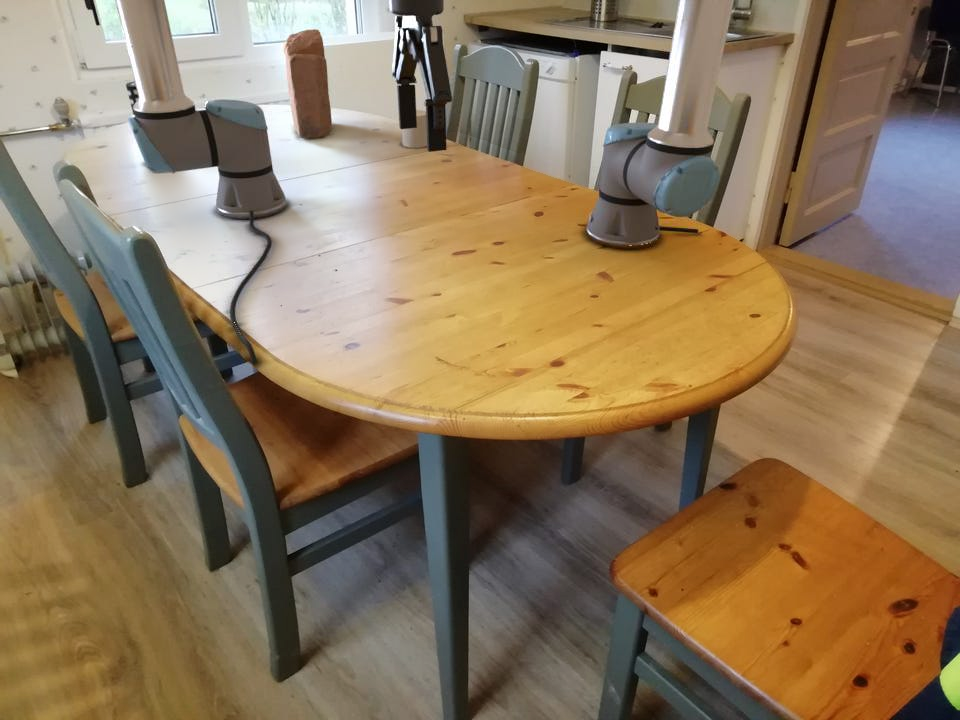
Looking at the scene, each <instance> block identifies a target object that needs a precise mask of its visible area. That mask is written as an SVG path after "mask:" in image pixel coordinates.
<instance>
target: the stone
mask: <svg viewBox="0 0 960 720" xmlns="http://www.w3.org/2000/svg"><path fill="white" fill-rule="evenodd" d="M321 34H322V33H321V32H320V30H319V29H315V28H314V29H313V28H312V29H305V30H300V31H299V32H297V33H292V34H289V35H288V37H287V39H286V40H285V42H284V43H283V49H282V50H283V53H284V56H285V70H286V71H285V72H286V82H287V90H288V96H289V100H290V111H291V116H292V121H293V124H294V127H295V130H296V133H297V135H298V136H299V138H300V139H313V138H321V137H324V136H327V135H329V134H331V132H332V123H333V119H332V109H331V102H330V95H329V78H328V77H329V76H328V65H327V64H328V63H327V59H326V56H325V47H324V46H325V45H324V40H323V36H322V35H321Z"/></svg>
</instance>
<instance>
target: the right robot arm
mask: <svg viewBox="0 0 960 720" xmlns="http://www.w3.org/2000/svg"><path fill="white" fill-rule="evenodd" d="M444 1H445V0H389V11H390V12H391V13H392V14H393V15H395V17H394V24H395V25H394V29H395V31H394V44H393V54H392V68H391V76H392V78H393V79H395V83H396V89H397V105H398V106H397V107H398V123H399V125H398V126H399V129H400V130H402V129H409V128H417V117H416V110H417V99H416V97H417V96H416V85H415V84H417V83H418V81H417V77H416V76H415V74H416V69H417V66H418V68H419V71H420V75H421V79H422V83H423V86H424V91H425V94H426V98H425V100H424V102H423V106H424V107H425V111H426V126H427V146H426V149H427V152H428V153H431V152H432V153H433V152H441V151H447V111H446V110H447V109H446V108H447V107H446V105H448V103H452V101H453V95H452V89H451V83H450V78H449V71H448V66H447V59H446V54H445V48H444V47H445V46H444V37H443V36H444V35H443V27H442V25H434V23H433V17H434V16H438V15H441V14H443V12H444V9H445V8H444V6H445V3H444ZM734 1H735V0H678V3H677V9H676V16H675V22H674V27H673V33H672V39H671V45H670V49H669V57H668V63H667V69H666V75H665V80H664V86H663V91H662V93H663V94H662V99H661V104H660V110H659V116H658V122H657V123H655V122H624V123H616V124H613V125H611V126H610V127H608V128H607V130H606V132H605V135H604V141H603V144H602V147H603V151H602V161H601V170H600V172H601V173H600V179H599V189H598V190H599V191H598V198H597V199H596V200H597V201H596V203H595V205H594V207H593V209H592V211H591V212H590V213H589V215H588V218H589V219H588V221H587V224H586V231H585V234H586V236H587V238H588V239H590V240H591V241H592V242H594V243H596V244H598V245H601V246H605V247H608V248H614V249H621V250H638V249H645V248H648V247H651V246H654V245H655V244H656V243H658V241H659V240H660V235H661V234H660V233H661V232H676V233H687V234H698V233H699V229H698V228H690V227H689V228H688V227H676V226H675V227H674V226H661V225H660V222H659V216H658V212H660V213H663V214H667V215H669V216H670V217H674V218H684V217H688V216H691V215H694V214H696V213H697V212H698V211H700V210H701V209H702V208H703V207H704V206H705V205H707V204H708V203H709V202H710V201H711V199H712V198H713V196H714V194H715V193H716V191H717V189H718V186H719V184H720V178H721V176H720V175H721V174H720V169H719V167H718V166H717V163H716V161H715V160H713V158H711V156H712V152H713V147H714V141H715V140H714V138H713V137H712V135H711V134H710V132H709V130H708V128H709V127H708V126H709V123H710V119H711V118H710V117H711V113H712V109H713V104H714V99H715V94H716V89H717V83H718V79H719V76H720V75H719V74H720V70H721V65H722V61H723V55H724V50H725V45H726V42H727V41H726V40H727V37H728V32H729V27H730V21H731V17H732V11H733V8H734ZM656 239H657V240H656ZM650 242H651V243H650ZM646 243H648V244H646ZM641 244H643V245H641ZM629 245H632V246H629Z"/></svg>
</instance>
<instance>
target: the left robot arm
mask: <svg viewBox="0 0 960 720" xmlns="http://www.w3.org/2000/svg"><path fill="white" fill-rule="evenodd" d="M165 1H166V0H114V2H115V6H116V10H117V14H118V19H119V23H120V26H121V31H122V35H123V39H124V42H125V46H126V51H127V55H128V59H129V63H130V67H131V72H132V77H133V79H134V80H133V81H135V84H136V88H137V92H138V96H139V98H138V100H137V102H136V103H135V104H134V106H133V110H134V114H135V116H134V115H131V116H129V117H128V119H127V121H128V123H129V126H130V128H131V131H132V134H133V137H134V139H135V142H136V144H137V147H138V149H139V151H140V153H141V156H142V159H143V161H144V163H145V165H146V168H147V169H148V170H149V171H150V172H151V173H153V174H159V175H161V174H170V173H171V174H176V173H178V172H186V171H187V172H188V171H195V170H201V169H208V168H215V167H217V169H218V170H217V172H218V185H217V193H216V201H215V203H216V204H215V206H216V210H217V213H218V214H219V215H221V216H223V217H225V218H229V219H236V220H249V227H250V229H251V230H252V231H253V232H254V233H255V234H257V235H260V236H262V237H263V238H265V239H266V242H267V243H266V246H265V249H264V251H263V253H262V255H261V256H260V258H259V259H258V260H257V262H256V263H255V264H254V266H253V267H252V268H251V269H250V271H249V272H248V273H247V275H246V276H245V277H244V279H242V281H241V282H240V283H239V285H238V287H237V289H236V291H235V292H234V295H233V297H232V299H231V301H230V302H231V303H230V306H229V317H230V322H231V325H232V327H233V330H234V332H235V333H236V335H237V337H238V340H239V341H240V342H241V343H242V344H243V345H244V346H245V348H246V350H247V352H248V354H249V358H250V361H251V364H252V365H257V364H258V360H257V357H256V353H255V350H254V348H253V345H252V344H251V342H250V341H249V340H248V338H246V336H245V335H244V334H243V331H242V329H241V327H240V326H239V324H238V321H237V318H236V306H237V302H238V299H239V298H240V295H241V293H242V291H243V290H244V288H245V286H246V285H247V283H249V281H250V280H251V278H252V277H253V276H254V274H255V273H256V272H257V271H258V270H259V268H260V267H261V265H262V264H263V263H264V261H265V260H266V258H267V256H268V254H269V252H270V250H271V248H272V245H273V243H272V242H273V241H272V239H271V236H270V235H269V234H268V233H266V232H264V231H262V230H260V229H258V228H257V227H256V226H255V225H254V222H255V219H260V218H261V219H262V218H265V217H266V218H267V217H270V216H274V215H276V214H278V213H280V212H282V211H283V210H285V209H286V207H287V199H286V194H285V193H284V191H283V189H282V187H281V184H280V182H279V180H278V179H277V177H276V175H275V172H274V167H273V160H272V154H271V147H270V140H269V135H268V125H267V121H266V116H265V113H264V110H263V109H262V108H261V107H260V106H259V105H258V104H255V103H253V102H249V101H244V100H238V99H222V98H221V99H214V100H213V99H212V100H211V99H209V100H207V101H206V102H205V104H204V109H199V110H197V109H196V106H195V105H196V104H195V102H194V101H193V100H192V99H191V98H190V97H188V96H186V94H185V90H184V85H183V82H182V77H181V76H182V75H181V72H180V67H179V63H178V58H177V53H176V48H175V44H174V38H173V35H172V34H173V33H172V29H171V23H170V21H169V16H168V9H167V6H166V2H165ZM84 5H85V7H86V9H87V11H91V12H92V15H93V19H94V23H95V26H101V24H100V20H99V16H98V12H97V8H96V4H95V1H94V0H84ZM234 322H235V323H234ZM235 324H236V325H235ZM236 326H237V327H236ZM237 328H238V329H237ZM238 330H239V331H238ZM239 332H240V333H241V334H240V333H239Z"/></svg>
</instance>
